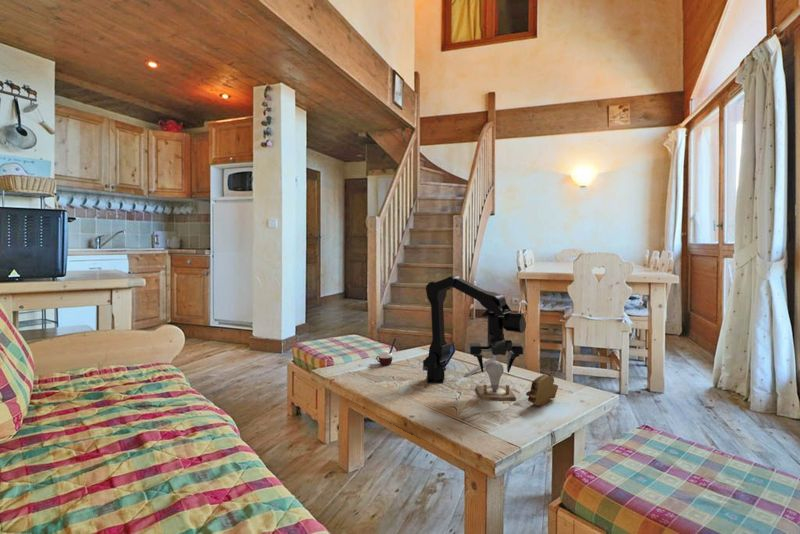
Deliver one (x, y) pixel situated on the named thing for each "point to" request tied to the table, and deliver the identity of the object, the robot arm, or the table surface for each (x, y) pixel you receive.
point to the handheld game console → (452, 350)
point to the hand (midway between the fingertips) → (495, 372)
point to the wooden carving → (542, 390)
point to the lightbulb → (494, 373)
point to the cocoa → (386, 356)
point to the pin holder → (495, 393)
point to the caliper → (493, 358)
